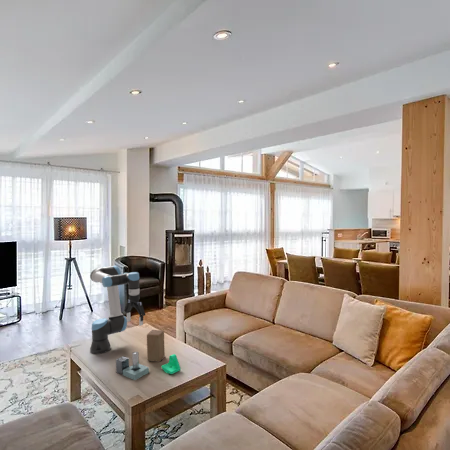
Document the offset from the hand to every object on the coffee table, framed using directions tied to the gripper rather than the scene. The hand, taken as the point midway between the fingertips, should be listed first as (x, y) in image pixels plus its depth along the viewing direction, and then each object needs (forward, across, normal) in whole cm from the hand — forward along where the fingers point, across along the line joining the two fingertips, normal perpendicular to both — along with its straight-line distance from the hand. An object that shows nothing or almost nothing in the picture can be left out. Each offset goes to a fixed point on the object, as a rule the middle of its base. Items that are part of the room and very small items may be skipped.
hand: (134, 323), depth 233 cm
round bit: (+28, +14, -12) cm, 33 cm away
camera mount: (+28, +30, +5) cm, 42 cm away
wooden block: (+28, +9, +11) cm, 32 cm away
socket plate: (+28, +14, -12) cm, 34 cm away
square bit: (+28, +4, -15) cm, 32 cm away
